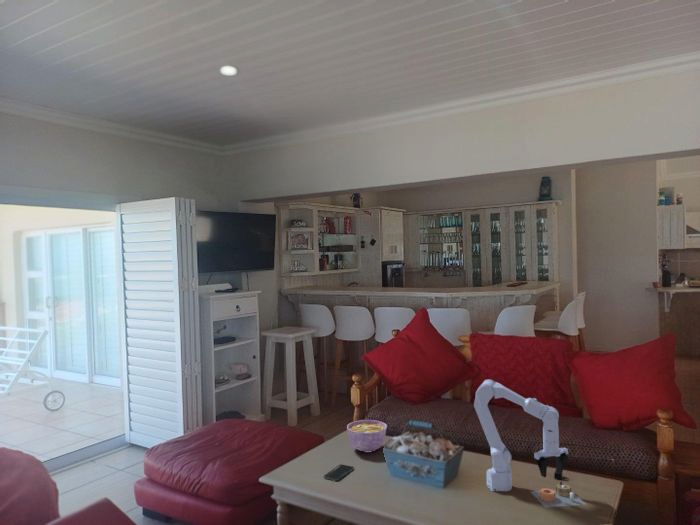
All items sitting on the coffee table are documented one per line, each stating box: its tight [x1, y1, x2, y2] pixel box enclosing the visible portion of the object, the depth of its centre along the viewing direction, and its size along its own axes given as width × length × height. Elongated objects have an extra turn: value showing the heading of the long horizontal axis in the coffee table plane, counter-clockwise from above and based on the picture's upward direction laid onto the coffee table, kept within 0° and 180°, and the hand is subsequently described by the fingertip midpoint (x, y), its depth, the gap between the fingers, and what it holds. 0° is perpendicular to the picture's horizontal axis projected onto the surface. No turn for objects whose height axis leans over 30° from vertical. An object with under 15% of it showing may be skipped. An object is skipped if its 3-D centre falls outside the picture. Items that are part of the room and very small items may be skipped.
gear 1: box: [539, 487, 556, 502], centre depth 198 cm, size 6×6×3 cm
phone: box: [323, 464, 355, 482], centre depth 229 cm, size 8×1×15 cm
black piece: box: [553, 469, 564, 481], centre depth 216 cm, size 12×7×5 cm, turn 152°
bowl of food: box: [346, 419, 388, 452], centre depth 257 cm, size 20×20×12 cm
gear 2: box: [555, 480, 572, 497], centre depth 201 cm, size 6×6×4 cm
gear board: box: [530, 485, 587, 509], centre depth 198 cm, size 16×13×4 cm
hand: (551, 474), depth 200 cm, fingers open, 7 cm apart
